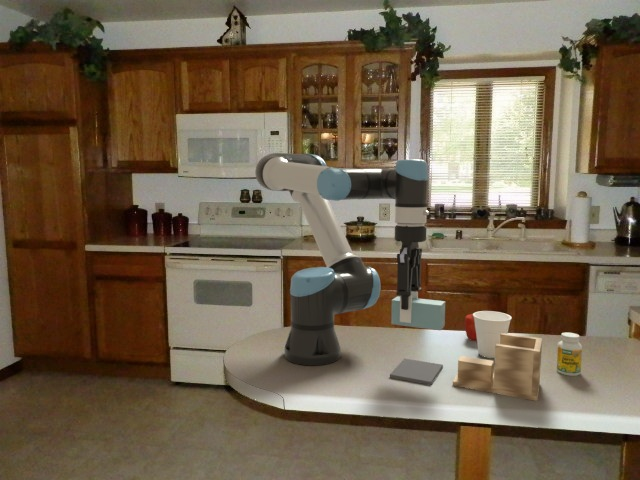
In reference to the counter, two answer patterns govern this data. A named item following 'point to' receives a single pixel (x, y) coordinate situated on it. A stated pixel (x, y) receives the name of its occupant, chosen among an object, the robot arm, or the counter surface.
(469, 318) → the apple
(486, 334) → the cup
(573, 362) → the supplement bottle
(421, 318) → the bar
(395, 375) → the mat
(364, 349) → the counter surface
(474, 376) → the cradle
